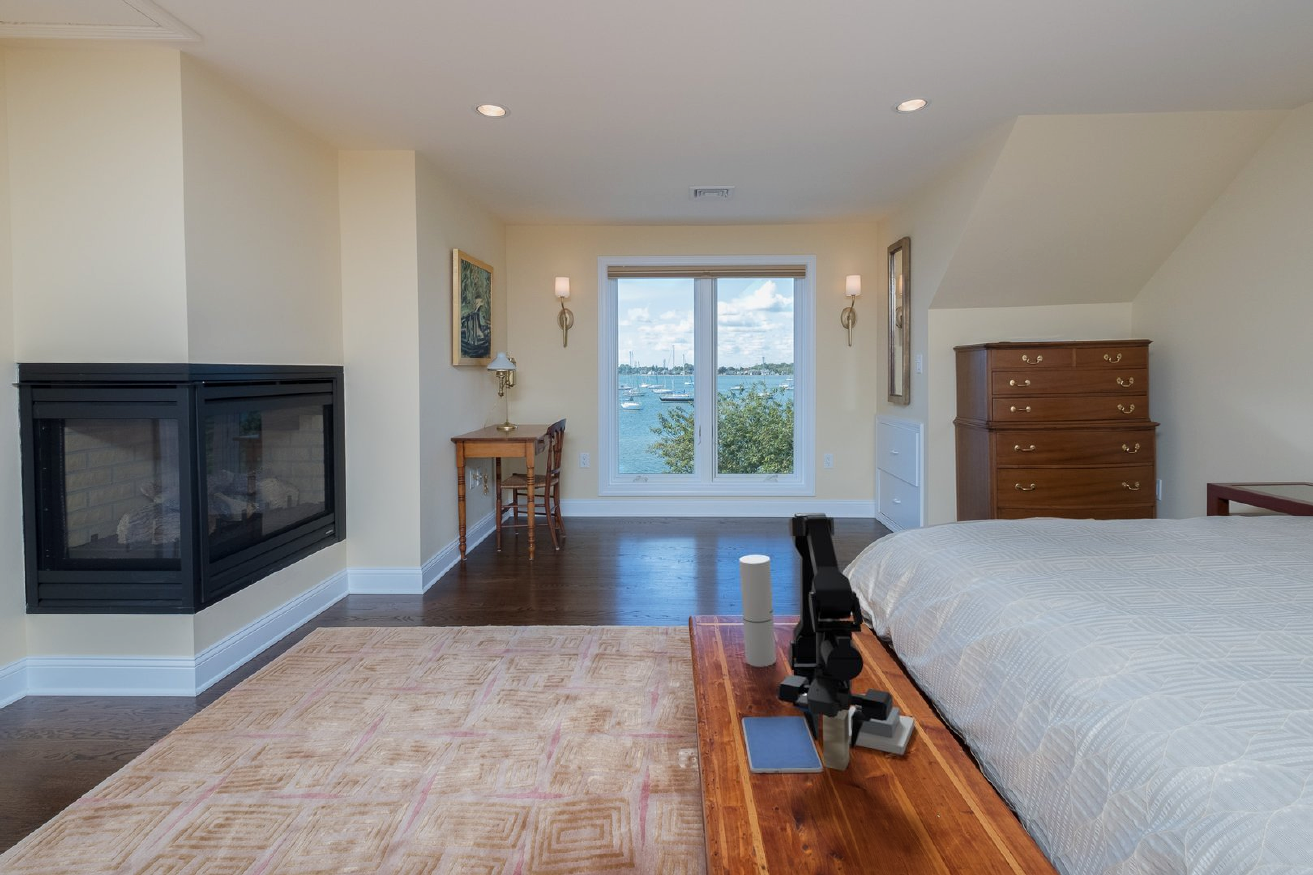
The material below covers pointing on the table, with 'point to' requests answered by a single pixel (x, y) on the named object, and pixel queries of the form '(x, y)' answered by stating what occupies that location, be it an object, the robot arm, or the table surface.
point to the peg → (836, 740)
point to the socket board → (885, 732)
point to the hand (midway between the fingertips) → (834, 743)
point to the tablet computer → (780, 745)
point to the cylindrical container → (757, 610)
